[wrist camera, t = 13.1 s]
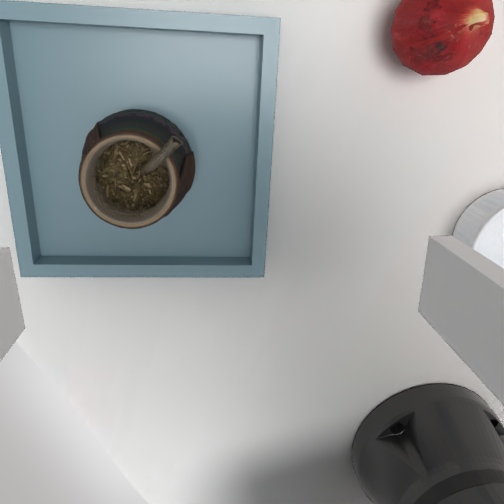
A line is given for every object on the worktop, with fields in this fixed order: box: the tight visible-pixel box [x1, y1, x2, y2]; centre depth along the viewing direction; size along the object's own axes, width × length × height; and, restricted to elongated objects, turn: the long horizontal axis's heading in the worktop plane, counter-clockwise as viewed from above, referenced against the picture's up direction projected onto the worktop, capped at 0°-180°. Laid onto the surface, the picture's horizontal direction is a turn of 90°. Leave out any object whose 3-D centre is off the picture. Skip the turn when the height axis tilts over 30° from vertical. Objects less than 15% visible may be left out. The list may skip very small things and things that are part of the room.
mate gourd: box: [78, 109, 195, 229], centre depth 28 cm, size 7×8×10 cm
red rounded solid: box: [391, 0, 494, 75], centre depth 28 cm, size 6×6×8 cm
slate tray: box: [0, 0, 281, 277], centre depth 32 cm, size 18×18×2 cm
